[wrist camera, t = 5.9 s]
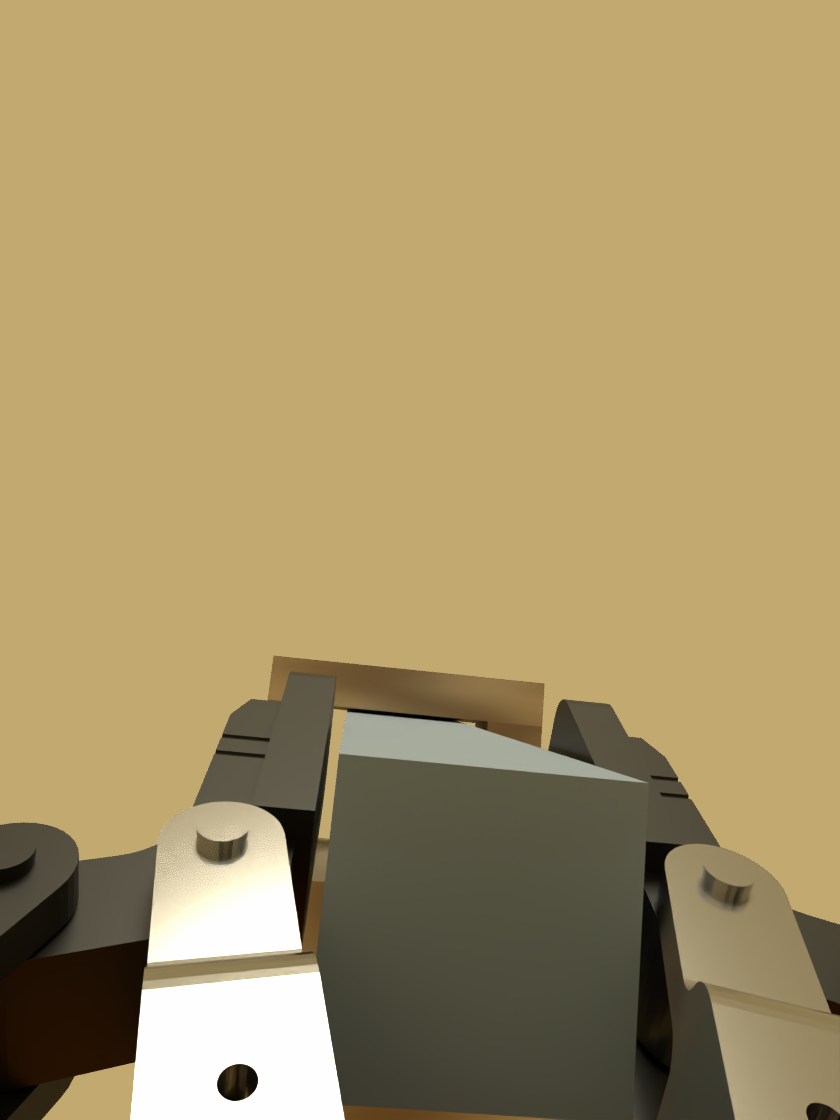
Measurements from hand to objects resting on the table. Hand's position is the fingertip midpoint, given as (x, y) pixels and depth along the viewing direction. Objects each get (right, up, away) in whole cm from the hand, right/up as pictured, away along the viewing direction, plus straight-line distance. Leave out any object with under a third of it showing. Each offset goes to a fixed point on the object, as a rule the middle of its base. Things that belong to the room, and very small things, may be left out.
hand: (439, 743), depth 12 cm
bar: (-1, -3, +2) cm, 4 cm away
